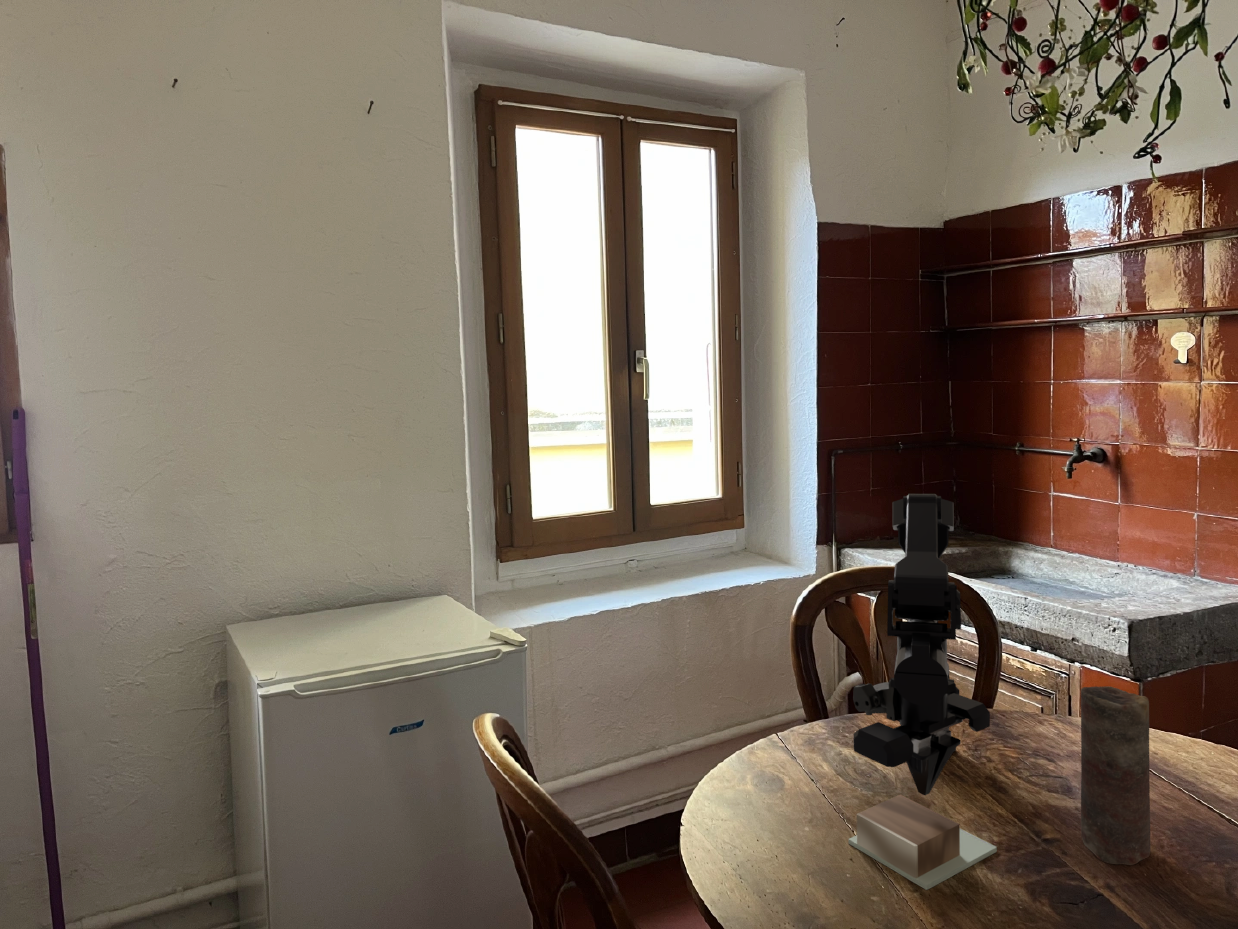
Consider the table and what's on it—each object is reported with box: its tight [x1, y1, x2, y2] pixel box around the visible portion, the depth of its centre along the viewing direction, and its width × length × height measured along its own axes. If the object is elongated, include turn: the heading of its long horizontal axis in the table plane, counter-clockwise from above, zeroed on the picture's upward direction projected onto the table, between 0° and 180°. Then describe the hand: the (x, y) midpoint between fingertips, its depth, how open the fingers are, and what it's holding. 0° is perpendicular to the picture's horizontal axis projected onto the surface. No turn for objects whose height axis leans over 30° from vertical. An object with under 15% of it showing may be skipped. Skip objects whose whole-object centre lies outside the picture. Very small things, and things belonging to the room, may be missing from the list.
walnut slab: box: [856, 794, 961, 879], centre depth 106 cm, size 4×9×8 cm
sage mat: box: [847, 828, 998, 891], centre depth 107 cm, size 13×12×1 cm
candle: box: [1080, 685, 1151, 866], centre depth 104 cm, size 8×7×20 cm
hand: (923, 793), depth 107 cm, fingers closed
